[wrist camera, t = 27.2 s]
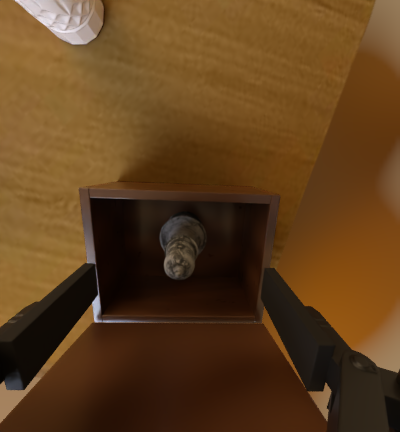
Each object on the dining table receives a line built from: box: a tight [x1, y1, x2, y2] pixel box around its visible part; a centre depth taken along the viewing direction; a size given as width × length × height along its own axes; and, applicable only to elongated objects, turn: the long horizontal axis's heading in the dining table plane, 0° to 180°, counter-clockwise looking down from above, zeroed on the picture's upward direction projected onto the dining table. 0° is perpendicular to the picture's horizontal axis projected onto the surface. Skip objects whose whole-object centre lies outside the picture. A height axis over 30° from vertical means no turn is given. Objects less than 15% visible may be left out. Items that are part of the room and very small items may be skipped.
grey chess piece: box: [160, 211, 207, 280], centre depth 21 cm, size 6×6×12 cm
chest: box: [79, 181, 280, 323], centre depth 23 cm, size 15×19×9 cm
